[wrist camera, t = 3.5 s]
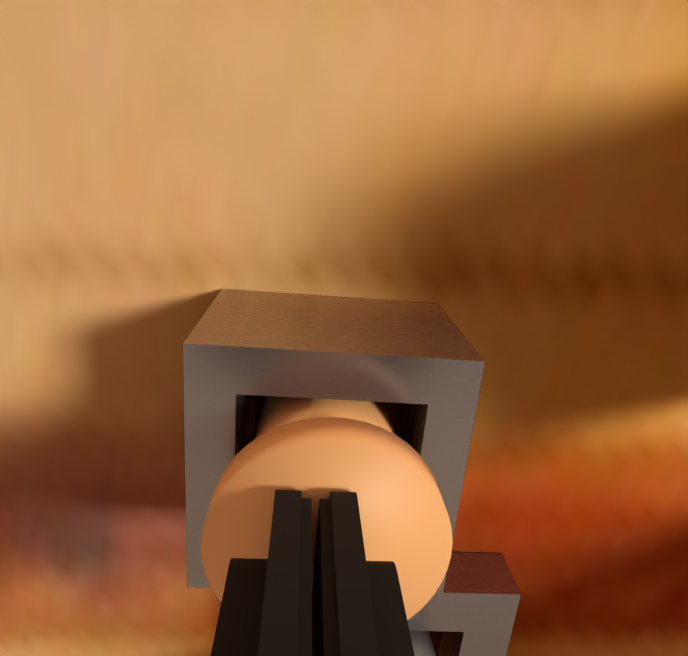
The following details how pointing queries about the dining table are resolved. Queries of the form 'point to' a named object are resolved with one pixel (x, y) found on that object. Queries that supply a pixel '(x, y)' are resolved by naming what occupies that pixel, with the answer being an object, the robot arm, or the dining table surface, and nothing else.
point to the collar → (472, 607)
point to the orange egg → (332, 475)
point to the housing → (323, 382)
